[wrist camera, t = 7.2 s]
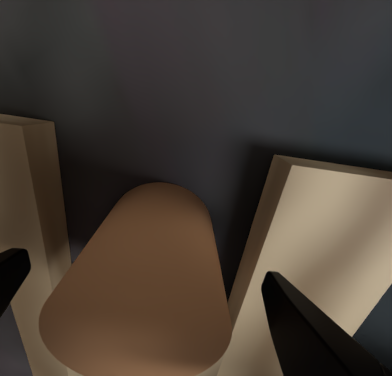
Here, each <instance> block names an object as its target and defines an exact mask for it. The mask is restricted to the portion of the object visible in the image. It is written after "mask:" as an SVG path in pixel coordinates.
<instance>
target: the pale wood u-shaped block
mask: <svg viewBox="0 0 392 376" xmlns="http://www.w3.org/2000/svg"><path fill="white" fill-rule="evenodd" d="M11 248H24V249H26V250H27V251H28V254H29V258H30V262H31V270H30V272H29V274H28V276H27V277H26V279H25V280H24V282H23V283H22V285H21V287H20V288H19V290H18V291H17V293H16V294H15V296H14V297H13V299H12V301H11V302H10V304H11V307H12V310H13V313H14V316H15V320H16V323H17V326H18V329H19V332H20V335H21V339H22V342H23V345H24V348H25V351H26V355H27V358H28V361H29V364H30V367H31V370H32V374H33V376H83V375H81V374H79V373H77V372H75V371H73V370H71V369H70V368H68V367H66V366H65V365H64V364H62V363H61V362H59V361H58V360H57V359H56V358H55V357H54V356H53V355H52V354H51V353H50V351H49V350H48V349H47V348H46V346H45V344H44V343H43V341H42V338H41V336H40V332H39V326H38V324H39V315H40V312H41V309H42V307H43V305H44V303H45V302H46V300H47V299H48V297H49V296H50V294H51V293H52V292H53V290H54V289H55V288H56V286H57V285H58V283H59V282H60V281H61V279H62V278H63V276H64V275H65V274H66V272H67V271H68V270H69V268H70V267H71V265H72V264H71V255H70V247H69V239H68V231H67V223H66V215H65V207H64V199H63V191H62V183H61V175H60V166H59V158H58V150H57V142H56V134H55V126H54V122H53V121H46V120H39V119H32V118H26V117H19V116H12V115H5V114H0V253H1V252H3V251H6V250H8V249H11ZM267 271H277V272H279V273H280V274H281V275H282V276H284V277H285V278H286V279H287V280H288V281H289V282H290V283H291V284H293V285H294V286H295V287H296V288H297V289H298V290H299V291H300V292H302V293H303V294H304V295H305V296H306V297H307V298H308V299H309V300H311V301H312V302H313V303H314V304H315V305H316V306H317V307H318V308H320V309H321V310H322V311H323V312H324V313H325V314H326V315H327V316H329V317H330V318H331V319H332V320H333V321H334V322H335V323H336V324H338V325H339V326H340V327H341V328H342V329H343V330H344V331H345V332H347V333H348V334H349V335H350V336H351V337H352V336H353V335H354V333H355V332H356V331H357V329H358V328H359V326H360V325H361V324H362V322H363V321H364V320H365V318H366V317H367V316H368V314H369V313H370V312H371V310H372V309H373V308H374V306H375V305H376V304H377V302H378V301H379V300H380V298H381V297H382V296H383V294H384V293H385V292H386V290H387V289H388V288H389V286H390V285H391V284H392V172H389V171H382V170H375V169H369V168H362V167H355V166H348V165H342V164H335V163H328V162H322V161H315V160H308V159H301V158H295V157H288V156H281V155H274V156H273V160H272V163H271V166H270V169H269V172H268V175H267V179H266V182H265V185H264V188H263V191H262V195H261V198H260V201H259V204H258V207H257V211H256V214H255V217H254V220H253V223H252V227H251V230H250V233H249V236H248V239H247V242H246V246H245V249H244V252H243V255H242V258H241V262H240V265H239V268H238V271H237V274H236V278H235V281H234V284H233V287H232V290H231V294H230V297H229V300H228V308H229V313H230V318H231V324H232V337H231V341H230V344H229V346H228V348H227V350H226V352H225V353H224V355H223V356H222V357H221V358H220V359H219V360H218V361H217V362H216V363H215V364H214V365H213V366H211V367H210V368H208V369H207V370H205V371H204V372H202V373H200V374H198V375H196V376H283V373H282V370H281V367H280V364H279V360H278V357H277V354H276V351H275V348H274V344H273V341H272V338H271V334H270V330H269V326H268V321H267V316H266V311H265V307H264V302H263V297H262V292H261V285H262V282H263V280H264V277H265V275H266V273H267Z"/></svg>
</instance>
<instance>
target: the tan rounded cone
mask: <svg viewBox="0 0 392 376" xmlns="http://www.w3.org/2000/svg"><path fill="white" fill-rule="evenodd" d="M38 326H39V332H40V336H41V338H42V341H43V343H44V344H45V346H46V348H47V349H48V350H49V351H50V353H51V354H52V355H53V356H54V357H55V358H56V359H57V360H58V361H59V362H61V363H62V364H64V365H65V366H66V367H68V368H70V369H71V370H73V371H75V372H77V373H79V374H81V375H83V376H196V375H198V374H200V373H202V372H204V371H205V370H207V369H208V368H210V367H211V366H213V365H214V364H215V363H216V362H217V361H218V360H219V359H220V358H221V357H222V356H223V355H224V353H225V352H226V350H227V348H228V346H229V344H230V341H231V337H232V324H231V318H230V313H229V308H228V303H227V298H226V293H225V288H224V283H223V278H222V273H221V267H220V262H219V257H218V252H217V247H216V242H215V237H214V232H213V227H212V222H211V217H210V214H209V211H208V209H207V207H206V206H205V204H204V203H203V202H202V201H201V200H200V198H199V197H198V196H196V195H195V194H194V193H192V192H191V191H189V190H188V189H186V188H183V187H181V186H178V185H175V184H171V183H163V182H155V183H147V184H143V185H140V186H137V187H135V188H133V189H131V190H130V191H128V192H127V193H125V194H124V195H123V196H122V197H121V198H120V199H119V200H118V202H117V203H116V204H115V206H114V207H113V209H112V210H111V211H110V213H109V214H108V216H107V217H106V218H105V220H104V221H103V222H102V224H101V225H100V227H99V228H98V229H97V231H96V232H95V234H94V235H93V236H92V238H91V239H90V240H89V242H88V243H87V245H86V246H85V247H84V249H83V250H82V252H81V253H80V254H79V256H78V257H77V258H76V260H75V261H74V263H73V264H72V265H71V267H70V268H69V270H68V271H67V272H66V274H65V275H64V276H63V278H62V279H61V281H60V282H59V283H58V285H57V286H56V288H55V289H54V290H53V292H52V293H51V294H50V296H49V297H48V299H47V300H46V302H45V303H44V305H43V307H42V309H41V312H40V315H39V324H38Z"/></svg>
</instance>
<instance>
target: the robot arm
mask: <svg viewBox="0 0 392 376" xmlns="http://www.w3.org/2000/svg"><path fill="white" fill-rule="evenodd" d="M30 270H31V262H30V258H29V254H28V251H27V250H26V249H24V248H11V249H8V250H6V251H3V252H1V253H0V317H1V316H2V314H3V313H4V311H5V310H6V308H7V307H8V305H9V304H10V302H11V301H12V299H13V297H14V296H15V294H16V293H17V291H18V290H19V288H20V287H21V285H22V283H23V282H24V280H25V279H26V277H27V276H28V274H29V272H30ZM261 292H262V297H263V302H264V307H265V311H266V316H267V321H268V326H269V330H270V334H271V338H272V341H273V344H274V348H275V351H276V354H277V357H278V360H279V364H280V367H281V370H282V373H283V376H392V372H391V371H389V370H388V369H387V368H386V367H385V366H384V365H383V364H381V363H379V361H378V360H377V359H376V358H375V357H374V356H373V355H371V354H370V353H369V352H368V351H367V350H366V349H365V348H364V347H362V346H361V345H360V344H359V343H358V342H357V341H356V340H354V339H353V338H352V337H351V336H350V335H349V334H348V333H347V332H345V331H344V330H343V329H342V328H341V327H340V326H339V325H338V324H336V323H335V322H334V321H333V320H332V319H331V318H330V317H329V316H327V315H326V314H325V313H324V312H323V311H322V310H321V309H320V308H318V307H317V306H316V305H315V304H314V303H313V302H312V301H311V300H309V299H308V298H307V297H306V296H305V295H304V294H303V293H302V292H300V291H299V290H298V289H297V288H296V287H295V286H294V285H293V284H291V283H290V282H289V281H288V280H287V279H286V278H285V277H284V276H282V275H281V274H280V273H279V272H277V271H267V273H266V275H265V277H264V280H263V282H262V285H261Z"/></svg>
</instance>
